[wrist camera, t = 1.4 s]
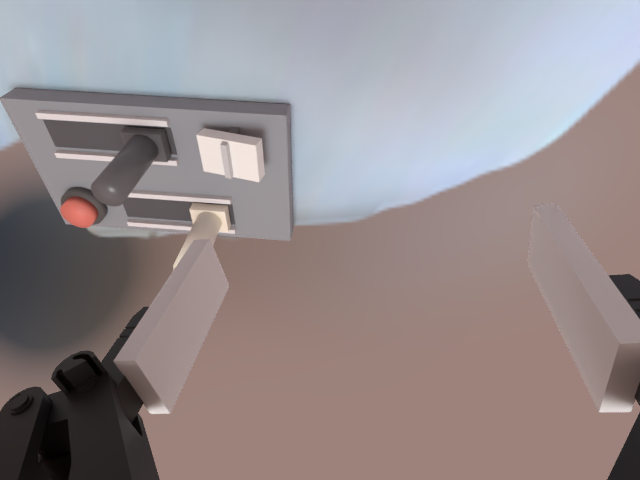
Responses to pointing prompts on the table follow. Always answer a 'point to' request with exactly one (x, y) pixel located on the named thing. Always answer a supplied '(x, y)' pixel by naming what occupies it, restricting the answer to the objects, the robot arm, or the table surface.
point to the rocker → (231, 154)
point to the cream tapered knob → (205, 224)
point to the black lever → (130, 164)
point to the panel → (161, 177)
